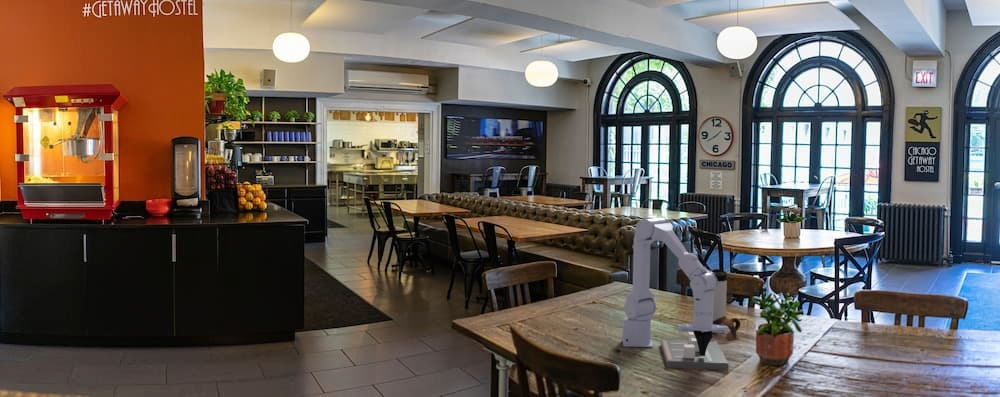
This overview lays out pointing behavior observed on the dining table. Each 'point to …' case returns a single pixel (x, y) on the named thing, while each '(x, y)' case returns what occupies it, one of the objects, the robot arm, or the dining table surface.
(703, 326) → the robot arm
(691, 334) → the block
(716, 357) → the panel
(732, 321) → the pottery mug
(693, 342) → the block
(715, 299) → the travel mug
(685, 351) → the block
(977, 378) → the dining table surface
